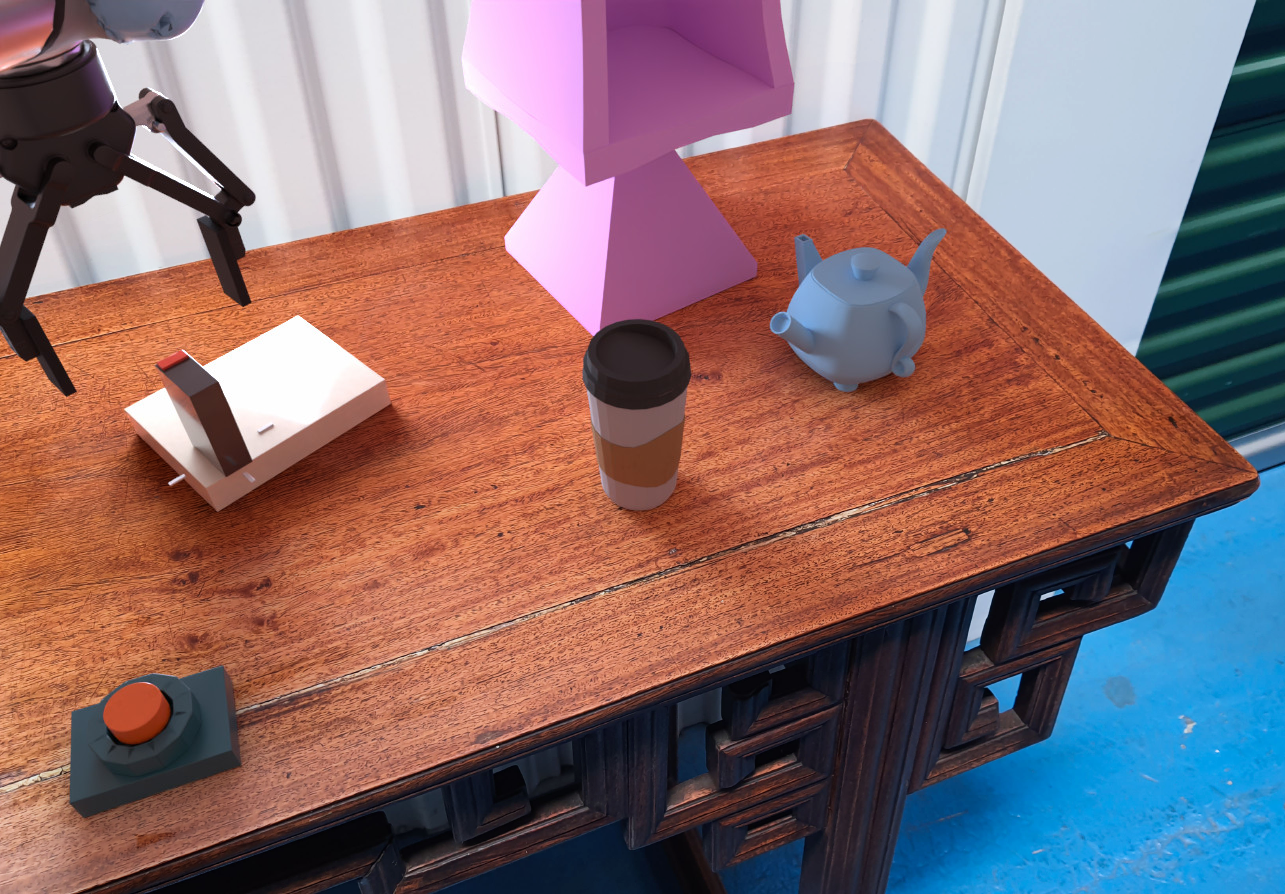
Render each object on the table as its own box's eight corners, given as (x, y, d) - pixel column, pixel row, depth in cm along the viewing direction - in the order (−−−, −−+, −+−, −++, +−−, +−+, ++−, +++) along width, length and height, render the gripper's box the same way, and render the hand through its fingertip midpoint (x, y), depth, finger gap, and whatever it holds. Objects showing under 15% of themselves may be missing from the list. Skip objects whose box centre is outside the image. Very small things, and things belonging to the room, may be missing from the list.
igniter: (83, 818, 65) (56, 790, 62) (84, 727, 69) (59, 697, 66) (241, 766, 67) (223, 736, 64) (232, 681, 72) (214, 650, 69)
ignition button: (113, 752, 64) (102, 739, 63) (113, 706, 66) (102, 692, 65) (172, 734, 65) (162, 720, 64) (169, 688, 67) (160, 674, 66)
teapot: (789, 299, 103) (800, 203, 94) (924, 319, 100) (947, 223, 92) (761, 396, 92) (771, 298, 84) (911, 422, 90) (936, 323, 82)
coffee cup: (644, 436, 89) (642, 301, 78) (708, 488, 84) (715, 352, 74) (570, 481, 85) (557, 345, 74) (633, 538, 80) (628, 403, 70)
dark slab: (253, 461, 83) (218, 378, 76) (226, 477, 82) (188, 394, 75) (218, 430, 86) (182, 347, 79) (192, 445, 84) (152, 362, 78)
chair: (595, 355, 97) (563, -176, 64) (488, 248, 110) (418, -238, 78) (774, 278, 105) (825, -225, 73) (656, 186, 118) (654, -274, 86)
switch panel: (212, 539, 81) (199, 514, 79) (116, 443, 89) (102, 418, 87) (407, 415, 91) (400, 389, 89) (305, 339, 99) (297, 313, 97)
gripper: (187, -26, 65) (275, 248, 80) (-244, 105, 52) (-44, 402, 67) (249, 3, 62) (329, 284, 77) (-198, 151, 49) (2, 454, 64)
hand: (154, 340), depth 72 cm, fingers open, 13 cm apart
